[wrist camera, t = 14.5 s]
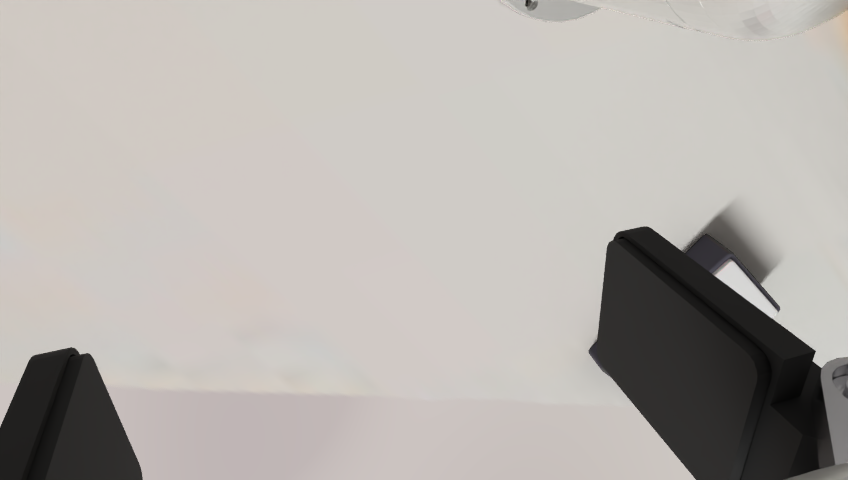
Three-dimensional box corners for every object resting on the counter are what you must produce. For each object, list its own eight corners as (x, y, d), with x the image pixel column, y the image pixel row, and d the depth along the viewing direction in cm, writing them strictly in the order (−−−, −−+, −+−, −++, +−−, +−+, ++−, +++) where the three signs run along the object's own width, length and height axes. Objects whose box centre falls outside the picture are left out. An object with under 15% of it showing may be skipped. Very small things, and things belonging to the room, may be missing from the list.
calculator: (604, 376, 53) (738, 255, 50) (581, 344, 56) (704, 230, 53) (665, 419, 58) (789, 314, 55) (640, 388, 62) (755, 288, 59)
